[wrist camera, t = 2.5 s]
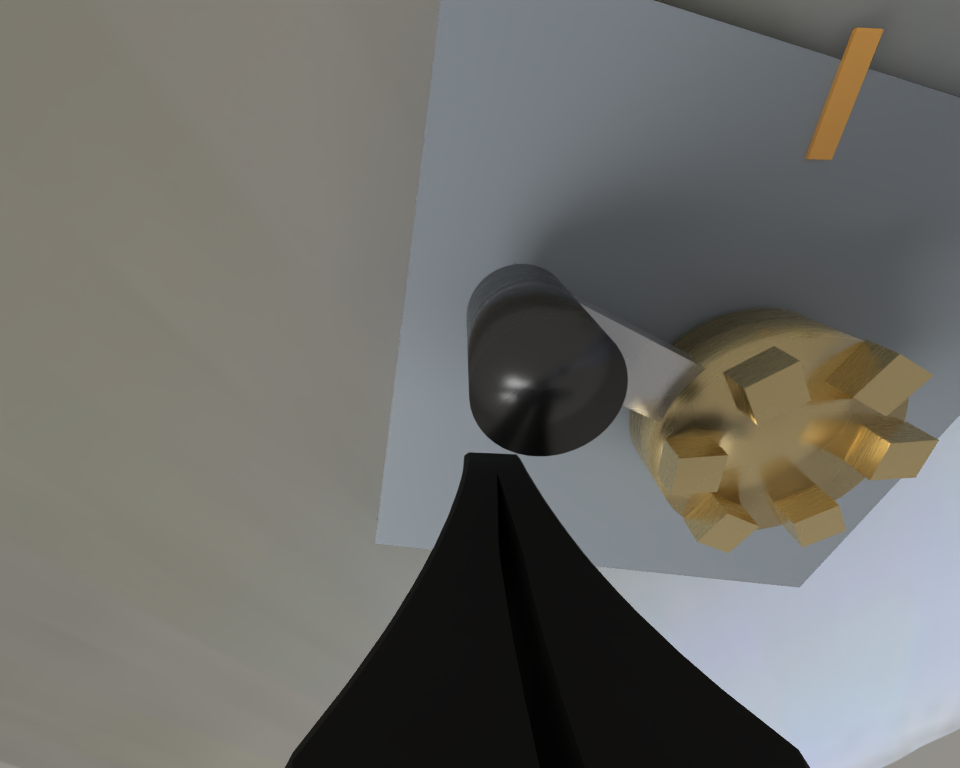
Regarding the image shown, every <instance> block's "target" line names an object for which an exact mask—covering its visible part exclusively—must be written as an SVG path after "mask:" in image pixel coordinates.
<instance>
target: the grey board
mask: <svg viewBox="0 0 960 768" xmlns="http://www.w3.org/2000/svg"><path fill="white" fill-rule="evenodd" d="M883 30H884V29H876V28H859V27H857V28H854V29H853V30H852V33H851V36H850V38H849V41H848V44H847V46H846V49H845V52H844V54H843V57H842V60H840V59H837V58H834V57H831V56H828V55H824V54H821V53H818V52H815V51H812V50H809V49H806V48H802V47H799V46H796V45H793V44H790V43H787V42H784V41H780V40H777V39H774V38H771V37H768V36H765V35H762V34H758V33H755V32H752V31H749V30H746V29H743V28H740V27H736V26H733V25H730V24H727V23H724V22H721V21H718V20H714V19H711V18H708V17H705V16H702V15H699V14H695V13H692V12H689V11H686V10H683V9H680V8H677V7H673V6H670V5H667V4H664V3H661V2H658V1H655V0H441V1H440V9H439V17H438V26H437V34H436V42H435V50H434V59H433V67H432V75H431V84H430V92H429V100H428V109H427V117H426V125H425V133H424V142H423V150H422V158H421V167H420V175H419V183H418V192H417V200H416V208H415V216H414V225H413V233H412V241H411V250H410V258H409V266H408V275H407V283H406V291H405V299H404V308H403V316H402V324H401V333H400V341H399V349H398V358H397V366H396V374H395V382H394V391H393V399H392V407H391V416H390V424H389V432H388V441H387V449H386V457H385V465H384V474H383V482H382V490H381V499H380V507H379V515H378V523H377V532H376V540H375V544H385V545H395V546H404V547H414V548H424V549H433V548H434V546H435V544H436V541H437V539H438V537H439V535H440V533H441V530H442V528H443V526H444V524H445V522H446V519H447V517H448V515H449V512H450V510H451V507H452V504H453V501H454V499H455V496H456V493H457V490H458V487H459V484H460V480H461V477H462V472H463V464H464V455H466V454H467V453H469V452H474V453H498V454H517V453H514V452H511V451H509V450H506V449H504V448H502V447H500V446H499V445H497V444H496V443H494V442H493V441H492V440H490V439H489V438H488V437H487V436H486V435H485V434H484V433H483V432H482V430H481V429H480V428H479V426H478V425H477V423H476V421H475V419H474V417H473V414H472V411H471V408H470V401H469V380H468V353H467V325H466V313H467V306H468V303H469V300H470V297H471V295H472V293H473V291H474V290H475V288H476V287H477V286H478V284H479V283H480V282H481V281H482V280H483V279H484V278H485V277H486V276H488V275H489V274H490V273H492V272H494V271H495V270H497V269H500V268H502V267H505V266H508V265H512V264H513V262H514V263H516V264H530V265H535V266H538V267H541V268H543V269H546V270H547V271H549V272H550V273H552V274H553V275H554V276H555V277H557V278H558V280H559V281H560V282H561V283H562V284H563V285H564V286H565V287H566V289H567V290H568V291H569V292H571V293H573V294H575V295H577V296H579V297H581V298H583V299H585V300H587V301H588V302H590V303H592V304H594V305H596V306H598V307H600V308H602V309H604V310H606V311H608V312H609V313H611V314H613V315H615V316H617V317H619V318H621V319H623V320H625V321H627V322H629V323H631V324H632V325H634V326H636V327H638V328H640V329H642V330H644V331H646V332H648V333H650V334H652V335H653V336H655V337H657V338H659V339H661V340H663V341H665V342H667V343H669V344H671V345H672V344H673V343H675V342H676V341H677V340H679V339H680V338H681V337H682V336H684V335H685V334H687V333H688V332H690V331H692V330H693V329H695V328H697V327H698V326H700V325H702V324H704V323H706V322H708V321H710V320H712V319H715V318H718V317H721V316H723V315H726V314H729V313H733V312H737V311H741V310H747V309H755V308H777V309H784V310H789V311H792V312H796V313H799V314H801V315H804V316H806V317H808V318H811V319H813V320H815V321H818V322H820V323H823V324H825V325H827V326H830V327H832V328H834V329H837V330H839V331H841V332H844V333H846V334H848V335H851V336H853V337H855V338H858V339H860V340H863V341H865V340H868V341H871V342H873V343H875V344H878V345H880V346H883V347H885V348H887V349H890V350H892V351H895V352H897V353H899V354H901V355H903V356H904V357H906V358H907V359H909V360H911V361H912V362H914V363H915V364H917V365H918V366H920V367H922V368H923V369H925V370H926V371H928V372H929V373H931V374H933V375H934V376H932V377H931V378H930V379H929V380H928V381H927V382H926V383H924V384H923V385H922V386H921V387H920V388H919V389H917V390H916V391H915V392H914V393H913V394H912V395H911V396H909V397H908V401H909V402H908V408H907V414H906V418H905V421H904V422H908V423H910V424H912V425H913V426H915V427H917V428H919V429H920V430H922V431H924V432H926V433H928V434H929V435H931V436H933V437H935V438H936V439H938V438H939V437H940V436H941V435H942V433H943V432H944V431H945V430H946V429H947V428H948V427H949V426H950V425H951V424H952V423H953V422H954V421H955V419H956V418H957V417H958V416H959V415H960V97H957V96H953V95H950V94H947V93H944V92H941V91H938V90H935V89H931V88H928V87H925V86H922V85H919V84H916V83H913V82H909V81H906V80H903V79H900V78H897V77H894V76H891V75H887V74H884V73H881V72H878V71H875V70H872V69H869V66H870V63H871V61H872V58H873V56H874V53H875V51H876V48H877V45H878V43H879V40H880V38H881V35H882V33H883ZM629 416H630V409H629V408H627V407H625V406H622V407H621V409H620V411H619V413H618V415H617V416H616V418H615V419H614V421H613V422H612V423H611V424H610V425H609V427H608V428H607V429H606V430H605V431H604V432H602V433H601V434H600V435H599V436H598V437H596V438H595V439H594V440H592V441H591V442H589V443H587V444H586V445H584V446H582V447H580V448H578V449H575V450H573V451H570V452H567V453H563V454H559V455H553V456H527V455H522V454H517V455H518V457H519V458H520V459H521V461H522V463H523V465H524V466H525V468H526V470H527V472H528V473H529V475H530V477H531V478H532V480H533V482H534V483H535V485H536V487H537V488H538V490H539V491H540V493H541V495H542V496H543V498H544V499H545V501H546V502H547V504H548V505H549V507H550V508H551V509H552V511H553V512H554V514H555V515H556V517H557V518H558V520H559V521H560V522H561V524H562V525H563V526H564V528H565V529H566V531H567V532H568V533H569V535H570V536H571V537H572V538H573V540H574V541H575V542H576V544H577V545H578V546H579V547H580V549H581V550H582V551H583V553H584V554H585V555H586V556H587V557H588V559H589V560H590V561H591V562H592V563H593V565H594V566H598V567H607V568H617V569H627V570H636V571H646V572H656V573H665V574H675V575H685V576H694V577H704V578H714V579H723V580H733V581H743V582H752V583H762V584H772V585H781V586H791V587H800V586H801V585H802V584H803V583H804V582H805V581H806V580H807V579H808V578H809V577H810V575H811V574H812V573H813V572H814V571H815V570H816V569H817V568H818V567H819V566H820V565H821V564H822V563H823V562H824V560H825V559H826V558H827V557H828V556H829V555H830V554H831V553H832V552H833V551H834V550H835V549H836V548H837V546H838V545H839V544H840V543H841V542H842V541H843V540H844V539H845V538H846V537H847V536H848V535H849V534H850V532H851V531H852V530H853V529H854V528H855V527H856V526H857V525H858V524H859V523H860V522H861V521H862V520H863V518H864V517H865V516H866V515H867V514H868V513H869V512H870V511H871V510H872V509H873V508H874V507H875V506H876V504H877V503H878V502H879V501H880V500H881V499H882V498H883V497H884V496H885V495H886V494H887V493H888V492H889V490H890V489H891V488H892V487H893V486H894V485H895V484H896V483H897V482H898V481H899V480H900V479H901V478H899V479H886V480H872V481H870V480H868V479H867V478H865V479H863V480H862V481H861V482H860V483H859V484H858V485H857V486H855V487H854V488H853V489H851V490H850V491H849V492H847V493H846V494H845V495H843V496H842V497H840V498H839V499H837V500H835V502H836V503H837V504H838V505H839V506H840V510H841V514H842V517H843V521H844V525H845V528H846V531H844V532H841V533H839V534H836V535H834V536H831V537H828V538H826V539H823V540H821V541H818V542H816V543H813V544H811V545H808V546H805V547H803V548H802V547H801V546H800V544H799V543H798V542H797V541H796V540H795V539H794V538H793V537H792V536H791V534H790V533H789V532H788V531H787V530H786V529H785V528H784V527H783V526H782V525H779V526H775V527H770V528H765V529H760V530H755V531H753V532H752V533H751V534H750V535H749V536H748V537H747V538H745V539H744V540H743V541H742V542H741V543H740V544H738V545H737V546H736V547H735V548H734V549H733V550H732V551H730V552H729V553H727V552H724V551H721V550H718V549H716V548H713V547H710V546H708V545H705V544H702V543H699V542H697V541H696V539H695V538H694V536H693V534H692V533H691V531H690V530H689V528H688V527H687V525H686V523H685V522H684V520H683V519H684V517H682V516H681V515H679V514H678V513H677V512H676V511H675V510H674V509H673V508H672V507H671V505H670V504H669V503H668V501H667V500H666V498H665V497H664V495H663V493H662V492H661V490H660V489H659V487H658V485H657V484H656V482H655V481H654V479H653V477H652V476H651V474H650V473H649V471H648V469H647V468H646V466H645V465H644V463H643V461H642V460H641V458H640V457H639V455H638V453H637V452H636V450H635V448H634V445H633V443H632V440H631V436H630V429H629Z"/></svg>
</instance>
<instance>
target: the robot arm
mask: <svg viewBox="0 0 960 768" xmlns="http://www.w3.org/2000/svg"><path fill="white" fill-rule="evenodd" d="M285 768H810V767H809V765H808V764H807V762H806V761H805V759H804V758H803V756H802V754H801V753H800V751H799V750H798V749H797V748H796V747H794V746H793V745H792V744H791V743H789V742H788V741H787V740H785V739H784V738H783V737H782V736H780V735H779V734H778V733H777V732H775V731H774V730H773V729H772V728H770V727H769V726H768V725H766V724H765V723H764V722H763V721H761V720H760V719H759V718H758V717H756V716H755V715H754V714H753V713H751V712H750V711H749V710H747V709H746V708H745V707H744V706H742V705H741V704H740V703H739V702H737V701H736V700H735V699H734V698H732V697H731V696H730V695H728V694H727V693H726V692H725V691H724V690H722V689H721V688H720V687H719V686H718V685H716V684H715V683H714V682H713V681H712V680H711V679H709V678H708V677H707V676H706V675H705V674H704V673H703V672H701V671H700V670H699V669H698V668H697V667H696V666H694V665H693V664H692V663H691V662H690V661H689V660H687V659H686V658H685V657H684V656H683V655H682V654H681V653H680V652H678V651H677V650H676V649H675V648H674V647H673V646H672V645H671V644H670V643H669V642H668V641H667V640H666V639H665V638H664V637H663V636H662V635H661V634H660V633H659V632H657V631H656V630H655V629H654V628H653V627H652V626H651V625H650V624H649V623H648V622H647V621H646V620H645V619H644V618H643V617H642V616H641V615H640V614H639V613H637V611H636V610H635V609H634V608H633V607H632V606H631V605H630V604H629V603H628V602H627V601H626V600H625V599H624V598H623V597H622V596H621V595H620V594H619V593H618V592H617V591H616V590H615V588H614V587H613V586H612V585H611V584H610V583H609V582H608V581H607V579H606V578H605V577H604V576H603V575H602V574H601V573H600V572H599V571H598V569H597V568H596V567H595V566H594V565H593V563H592V562H591V561H590V560H589V559H588V557H587V556H586V555H585V554H584V553H583V551H582V550H581V549H580V547H579V546H578V545H577V544H576V542H575V541H574V540H573V538H572V537H571V536H570V535H569V533H568V532H567V531H566V529H565V528H564V526H563V525H562V524H561V522H560V521H559V520H558V518H557V517H556V515H555V514H554V512H553V511H552V509H551V508H550V507H549V505H548V504H547V502H546V501H545V499H544V498H543V496H542V495H541V493H540V491H539V490H538V488H537V487H536V485H535V483H534V482H533V480H532V478H531V477H530V475H529V473H528V472H527V470H526V468H525V466H524V465H523V463H522V461H521V459H520V458H519V457H518V455H517V454H498V453H474V452H469V453H467V454H466V455H464V464H463V472H462V477H461V480H460V484H459V487H458V490H457V493H456V496H455V499H454V501H453V504H452V507H451V510H450V512H449V515H448V517H447V519H446V522H445V524H444V526H443V528H442V530H441V533H440V535H439V537H438V539H437V541H436V544H435V546H434V548H433V550H432V552H431V554H430V555H429V557H428V559H427V561H426V563H425V565H424V567H423V569H422V570H421V572H420V574H419V576H418V578H417V579H416V581H415V583H414V585H413V586H412V588H411V590H410V591H409V593H408V594H407V596H406V598H405V599H404V601H403V603H402V604H401V606H400V608H399V609H398V611H397V612H396V614H395V616H394V617H393V619H392V620H391V622H390V623H389V625H388V626H387V628H386V629H385V631H384V632H383V634H382V635H381V637H380V638H379V639H378V641H377V642H376V644H375V645H374V647H373V648H372V649H371V651H370V652H369V654H368V655H367V656H366V658H365V659H364V661H363V662H362V664H361V665H360V666H359V668H358V669H357V671H356V672H355V673H354V675H353V676H352V678H351V679H350V680H349V682H348V683H347V684H346V686H345V687H344V688H343V690H342V691H341V692H340V694H339V695H338V696H337V697H336V699H335V700H334V701H333V702H332V704H331V705H330V706H329V707H328V709H327V710H326V711H325V713H324V714H323V715H322V716H321V718H320V719H319V720H318V721H317V723H316V724H315V725H314V727H313V728H312V729H311V730H310V732H309V733H308V734H307V735H306V737H305V738H304V739H303V740H302V742H301V743H300V744H299V746H298V747H297V748H296V749H295V751H294V752H293V754H292V755H291V757H290V759H289V761H288V763H287V765H286V767H285Z"/></svg>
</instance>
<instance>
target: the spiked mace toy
mask: <svg viewBox="0 0 960 768" xmlns="http://www.w3.org/2000/svg"><path fill="white" fill-rule="evenodd" d="M466 325H467V353H468V380H469V401H470V408H471V411H472V414H473V417H474V419H475V421H476V423H477V425H478V426H479V428H480V429H481V430H482V432H483V433H484V434H485V435H486V436H487V437H488V438H489V439H490V440H492V441H493V442H494V443H496V444H497V445H499V446H500V447H502V448H504V449H506V450H509V451H511V452H514V453H517V454H522V455H527V456H553V455H559V454H563V453H567V452H570V451H573V450H575V449H578V448H580V447H582V446H584V445H586V444H587V443H589V442H591V441H592V440H594V439H595V438H596V437H598V436H599V435H600V434H601V433H602V432H604V431H605V430H606V429H607V428H608V427H609V425H610V424H611V423H612V422H613V421H614V419H615V418H616V416H617V415H618V413H619V411H620V409H621V407H622V406H625V407H627V408H629V409H630V416H629V429H630V436H631V440H632V443H633V445H634V448H635V450H636V452H637V453H638V455H639V457H640V458H641V460H642V461H643V463H644V465H645V466H646V468H647V469H648V471H649V473H650V474H651V476H652V477H653V479H654V481H655V482H656V484H657V485H658V487H659V489H660V490H661V492H662V493H663V495H664V497H665V498H666V500H667V501H668V503H669V504H670V505H671V507H672V508H673V509H674V510H675V511H676V512H677V513H678V514H679V515H681V516H682V517H684V519H683V520H684V522H685V523H686V525H687V527H688V528H689V530H690V531H691V533H692V534H693V536H694V538H695V539H696V541H697V542H699V543H702V544H705V545H708V546H710V547H713V548H716V549H718V550H721V551H724V552H727V553H729V552H730V551H732V550H733V549H734V548H735V547H736V546H737V545H738V544H740V543H741V542H742V541H743V540H744V539H745V538H747V537H748V536H749V535H750V534H751V533H752V532H753V531H755V530H760V529H765V528H770V527H775V526H779V525H782V526H783V527H784V528H785V529H786V530H787V531H788V532H789V533H790V534H791V536H792V537H793V538H794V539H795V540H796V541H797V542H798V543H799V544H800V546H801V547H802V548H803V547H805V546H808V545H811V544H813V543H816V542H818V541H821V540H823V539H826V538H828V537H831V536H834V535H836V534H839V533H841V532H844V531H846V528H845V525H844V521H843V517H842V514H841V510H840V506H839V505H838V504H837V503H836V502H835V500H837V499H839V498H840V497H842V496H843V495H845V494H846V493H847V492H849V491H850V490H851V489H853V488H854V487H855V486H857V485H858V484H859V483H860V482H861V481H862V480H863V479H865V478H867V479H868V480H870V481H872V480H886V479H899V478H913V477H916V476H917V474H918V473H919V471H920V469H921V468H922V466H923V465H924V463H925V462H926V460H927V458H928V457H929V455H930V454H931V452H932V450H933V449H934V447H935V446H936V444H937V442H938V441H939V440H938V439H936V438H935V437H933V436H931V435H929V434H928V433H926V432H924V431H922V430H920V429H919V428H917V427H915V426H913V425H912V424H910V423H908V422H904V421H905V418H906V414H907V408H908V402H909V401H908V397H909V396H911V395H912V394H913V393H914V392H915V391H916V390H917V389H919V388H920V387H921V386H922V385H923V384H924V383H926V382H927V381H928V380H929V379H930V378H931V377H932V376H934V375H933V374H931V373H929V372H928V371H926V370H925V369H923V368H922V367H920V366H918V365H917V364H915V363H914V362H912V361H911V360H909V359H907V358H906V357H904V356H903V355H901V354H899V353H897V352H895V351H892V350H890V349H887V348H885V347H883V346H880V345H878V344H875V343H873V342H871V341H868V340H865V341H863V340H860V339H858V338H855V337H853V336H851V335H848V334H846V333H844V332H841V331H839V330H837V329H834V328H832V327H830V326H827V325H825V324H823V323H820V322H818V321H815V320H813V319H811V318H808V317H806V316H804V315H801V314H799V313H796V312H792V311H789V310H784V309H777V308H755V309H747V310H741V311H737V312H733V313H729V314H726V315H723V316H721V317H718V318H715V319H712V320H710V321H708V322H706V323H704V324H702V325H700V326H698V327H697V328H695V329H693V330H692V331H690V332H688V333H687V334H685V335H684V336H682V337H681V338H680V339H679V340H677V341H676V342H675V343H673V344H672V345H671V344H669V343H667V342H665V341H663V340H661V339H659V338H657V337H655V336H653V335H652V334H650V333H648V332H646V331H644V330H642V329H640V328H638V327H636V326H634V325H632V324H631V323H629V322H627V321H625V320H623V319H621V318H619V317H617V316H615V315H613V314H611V313H609V312H608V311H606V310H604V309H602V308H600V307H598V306H596V305H594V304H592V303H590V302H588V301H587V300H585V299H583V298H581V297H579V296H577V295H575V294H573V293H571V292H569V291H568V290H567V289H566V287H565V286H564V285H563V284H562V283H561V282H560V281H559V280H558V278H557V277H555V276H554V275H553V274H552V273H550V272H549V271H547V270H546V269H543V268H541V267H538V266H535V265H530V264H516V263H514V262H513V264H512V265H508V266H505V267H502V268H500V269H497V270H495V271H494V272H492V273H490V274H489V275H488V276H486V277H485V278H484V279H483V280H482V281H481V282H480V283H479V284H478V286H477V287H476V288H475V290H474V291H473V293H472V295H471V297H470V300H469V303H468V306H467V313H466Z"/></svg>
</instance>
